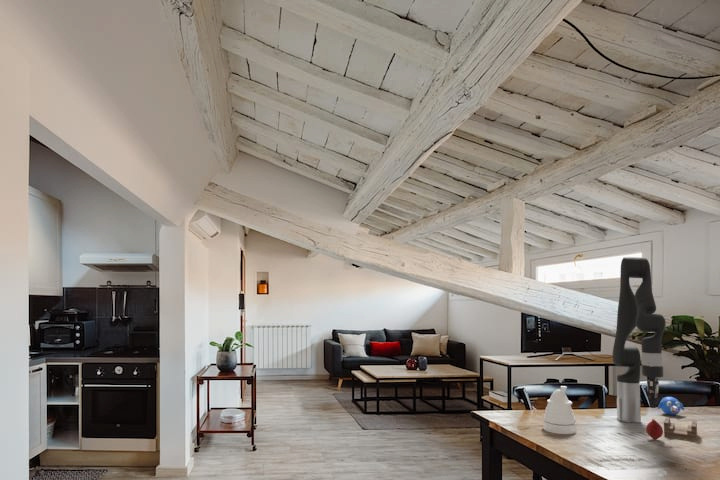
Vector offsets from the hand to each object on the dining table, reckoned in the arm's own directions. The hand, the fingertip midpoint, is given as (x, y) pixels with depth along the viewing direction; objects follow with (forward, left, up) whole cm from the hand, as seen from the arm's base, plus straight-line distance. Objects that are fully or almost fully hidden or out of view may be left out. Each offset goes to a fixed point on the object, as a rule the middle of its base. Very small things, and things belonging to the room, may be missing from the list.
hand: (653, 405), depth 210 cm
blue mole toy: (+19, +52, -13) cm, 57 cm away
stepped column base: (+12, +11, -13) cm, 21 cm away
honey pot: (-35, +3, -13) cm, 38 cm away
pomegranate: (0, 0, -13) cm, 13 cm away
